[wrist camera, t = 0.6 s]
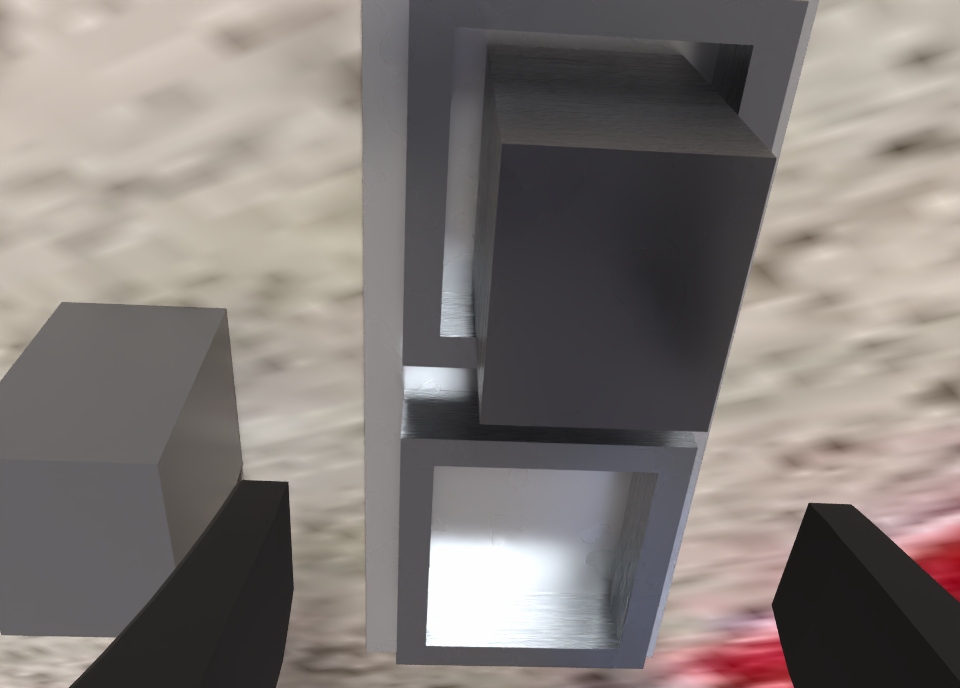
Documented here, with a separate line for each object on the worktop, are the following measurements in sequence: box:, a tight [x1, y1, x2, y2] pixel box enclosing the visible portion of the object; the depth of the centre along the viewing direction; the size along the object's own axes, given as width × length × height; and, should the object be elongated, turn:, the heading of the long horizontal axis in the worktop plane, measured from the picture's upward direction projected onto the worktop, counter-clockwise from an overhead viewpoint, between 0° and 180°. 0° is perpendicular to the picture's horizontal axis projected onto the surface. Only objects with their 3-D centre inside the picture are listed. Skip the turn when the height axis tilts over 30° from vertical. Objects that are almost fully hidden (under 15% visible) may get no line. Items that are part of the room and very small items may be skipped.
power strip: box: [362, 0, 819, 669], centre depth 20 cm, size 20×9×7 cm, turn 176°
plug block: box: [0, 302, 243, 637], centre depth 20 cm, size 5×4×6 cm
